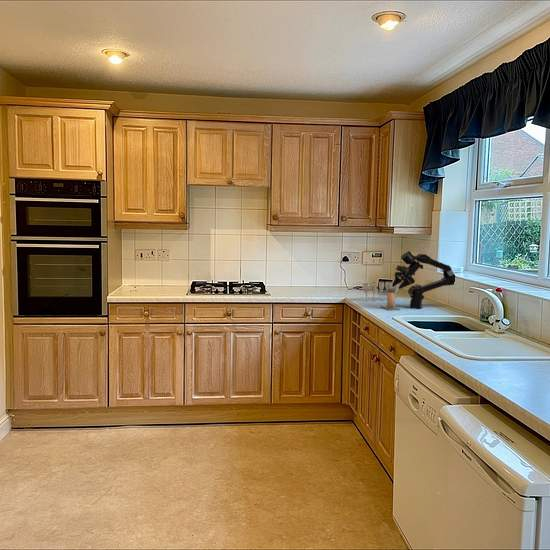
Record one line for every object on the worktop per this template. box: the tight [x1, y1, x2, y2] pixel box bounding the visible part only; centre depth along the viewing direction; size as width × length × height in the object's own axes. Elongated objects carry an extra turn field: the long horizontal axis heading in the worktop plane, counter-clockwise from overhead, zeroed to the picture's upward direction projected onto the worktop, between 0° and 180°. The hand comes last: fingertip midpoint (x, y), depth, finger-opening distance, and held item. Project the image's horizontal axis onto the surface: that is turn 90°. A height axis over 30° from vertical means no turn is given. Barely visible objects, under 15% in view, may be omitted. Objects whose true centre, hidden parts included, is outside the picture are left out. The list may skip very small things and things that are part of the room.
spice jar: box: [386, 287, 395, 308], centre depth 333 cm, size 5×5×12 cm
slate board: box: [380, 305, 401, 311], centre depth 334 cm, size 8×12×1 cm, turn 13°
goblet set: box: [362, 281, 400, 302], centre depth 365 cm, size 28×6×13 cm, turn 106°
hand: (395, 287), depth 333 cm, fingers open, 9 cm apart
